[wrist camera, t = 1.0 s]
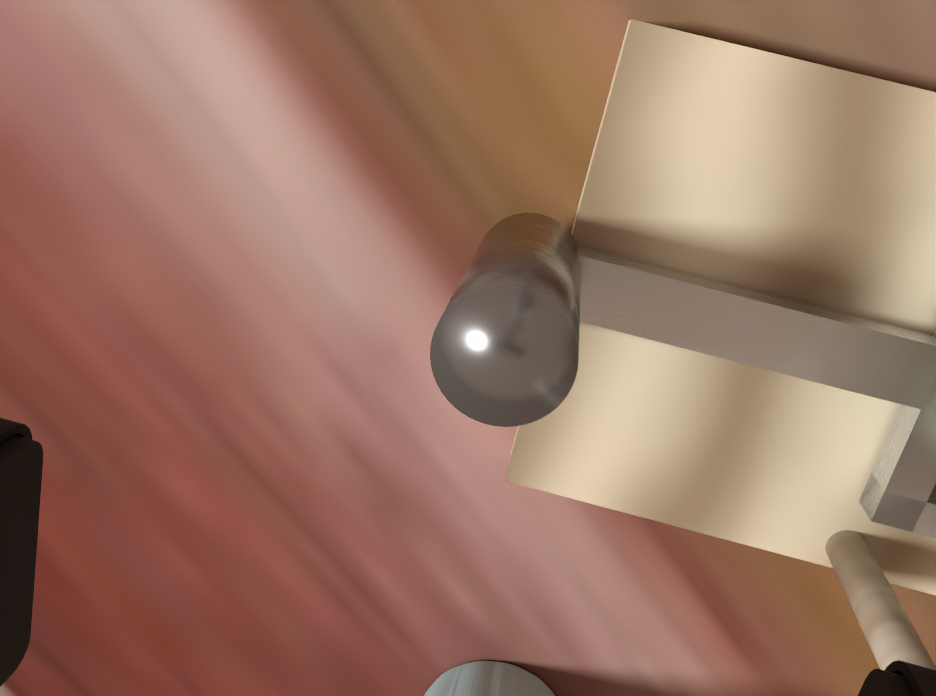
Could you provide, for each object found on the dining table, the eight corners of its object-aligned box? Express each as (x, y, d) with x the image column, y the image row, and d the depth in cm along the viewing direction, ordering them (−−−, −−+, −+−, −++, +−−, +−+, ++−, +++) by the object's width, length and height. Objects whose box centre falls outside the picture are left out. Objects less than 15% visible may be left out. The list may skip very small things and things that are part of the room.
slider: (444, 392, 27) (389, 526, 19) (515, 93, 24) (482, 117, 16) (1174, 583, 26) (1412, 803, 18) (1347, 298, 23) (1719, 423, 15)
